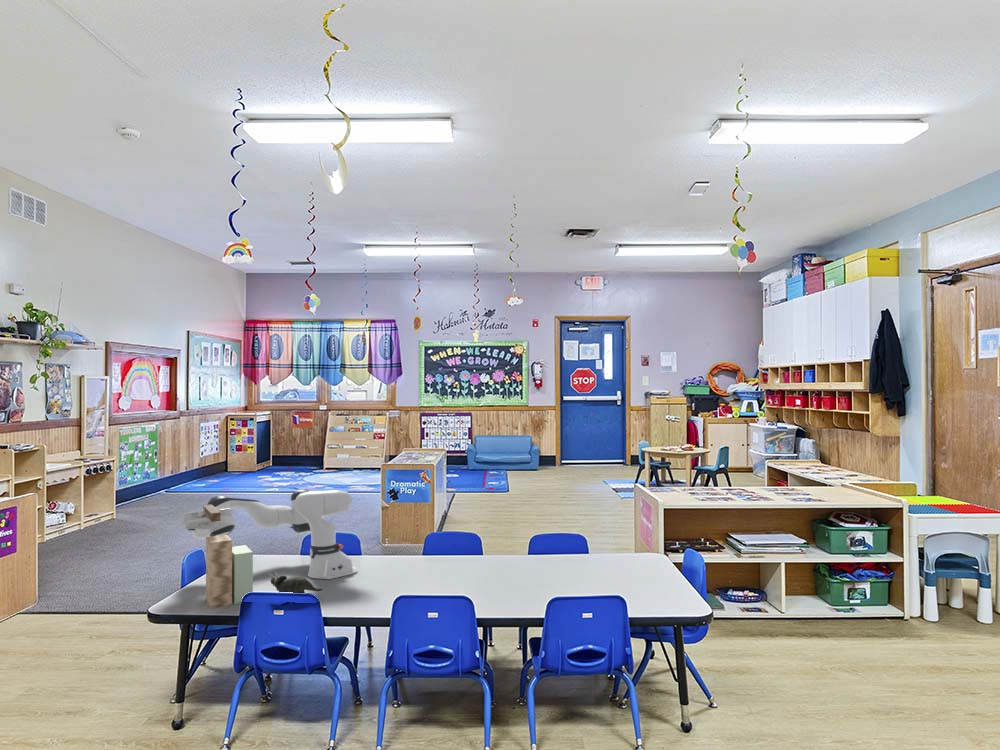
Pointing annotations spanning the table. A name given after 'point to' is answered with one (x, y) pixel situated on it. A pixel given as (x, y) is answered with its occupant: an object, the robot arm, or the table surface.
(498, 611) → the table surface
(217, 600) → the stand
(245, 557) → the pale green upright block
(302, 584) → the dinosaur figurine
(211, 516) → the bar
